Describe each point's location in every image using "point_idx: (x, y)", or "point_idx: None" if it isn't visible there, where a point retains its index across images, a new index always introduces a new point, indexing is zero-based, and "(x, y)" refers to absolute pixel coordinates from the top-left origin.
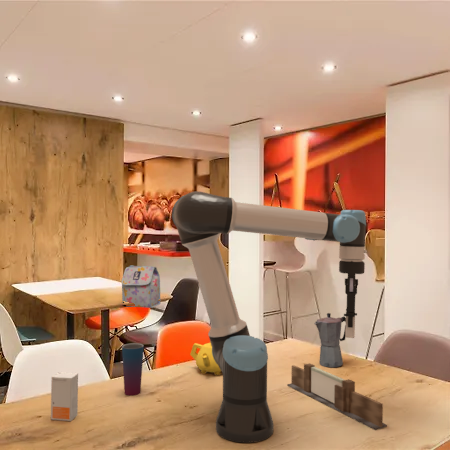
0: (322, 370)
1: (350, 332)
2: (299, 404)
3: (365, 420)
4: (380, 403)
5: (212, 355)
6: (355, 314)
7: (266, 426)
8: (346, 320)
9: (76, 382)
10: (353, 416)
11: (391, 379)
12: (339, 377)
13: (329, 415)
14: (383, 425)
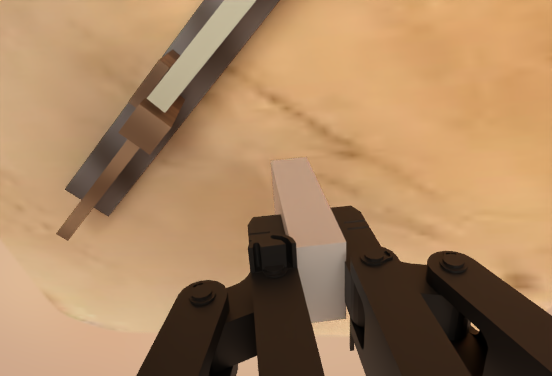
0: None
1: (277, 211)
2: None
3: (107, 159)
4: (64, 234)
5: None
6: (350, 333)
7: None
8: (285, 230)
9: None
10: (119, 121)
11: (522, 210)
12: (186, 83)
13: (104, 38)
14: (97, 208)
